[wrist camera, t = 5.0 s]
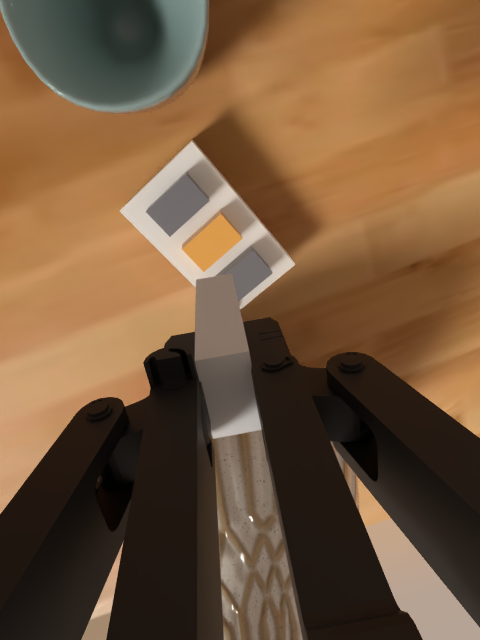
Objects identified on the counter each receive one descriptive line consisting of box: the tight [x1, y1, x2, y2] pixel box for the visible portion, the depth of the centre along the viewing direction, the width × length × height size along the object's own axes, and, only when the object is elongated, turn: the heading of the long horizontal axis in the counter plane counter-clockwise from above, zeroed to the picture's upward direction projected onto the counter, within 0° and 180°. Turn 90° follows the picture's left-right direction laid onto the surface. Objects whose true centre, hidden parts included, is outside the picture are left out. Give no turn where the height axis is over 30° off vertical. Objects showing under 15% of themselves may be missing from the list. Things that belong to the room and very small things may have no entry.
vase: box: [211, 430, 359, 640], centre depth 27 cm, size 16×16×20 cm
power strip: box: [120, 139, 295, 310], centre depth 28 cm, size 10×6×4 cm, turn 41°
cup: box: [0, 0, 210, 115], centre depth 20 cm, size 8×8×10 cm
